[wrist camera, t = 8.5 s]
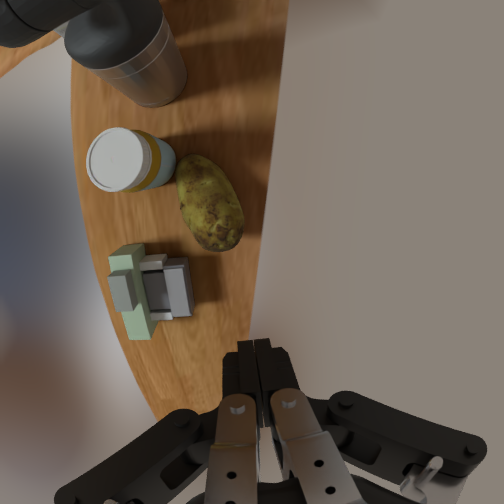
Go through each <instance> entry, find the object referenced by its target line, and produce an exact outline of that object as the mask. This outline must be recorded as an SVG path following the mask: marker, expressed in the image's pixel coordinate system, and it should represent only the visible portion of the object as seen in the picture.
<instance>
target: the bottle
mask: <svg viewBox="0 0 504 504" xmlns="http://www.w3.org/2000/svg"><path fill="white" fill-rule="evenodd" d="M86 166H87V172H88V175H89V177H90V179H91V180H92V182H93V183H94V184H95V185H96V186H97V187H99V188H100V189H102V190H105V191H109V192H110V191H111V192H117V191H121V192H129V193H130V192H137V191H142V190H146V189H151V188H155V187H159V186H162V185H163V184H165V183H166V182H168V181H169V179H170V178H171V177H172V176H173V174H174V171H175V169H176V156H175V153H174V151H173V149H172V147H171V146H170V145H168V144H167V143H166V142H164V141H162V140H160V139H158V138H156V137H154V136H152V135H150V134H148V133H146V132H143V131H140V130H129V129H126V128H121V127H120V128H118V127H117V128H111V129H108V130H106V131H104V132H102V133H101V134H100V135H98V136H97V137H96V138H95V140H94V141H93V142H92V144H91V146H90V148H89V150H88V154H87V159H86Z"/></svg>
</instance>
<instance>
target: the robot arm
mask: <svg viewBox="0 0 504 504" xmlns="http://www.w3.org/2000/svg"><path fill="white" fill-rule="evenodd" d="M69 20H70V21H69ZM67 21H69V23H68V25H67V28H66V31H65V37H64V42H65V48H66V50H67V52H68V54H69V55H70V56H71V57H72V58H73V59H74V60H75V61H77V62H78V63H80V64H81V65H83V66H84V67H86V68H87V69H89V70H90V71H91V72H93V73H94V74H96V75H97V76H99V77H100V78H102V79H103V80H105V81H106V82H108V83H109V84H110V85H112V86H113V87H115V88H116V89H117V90H119V91H120V92H122V93H123V94H124V95H126V96H127V97H129V98H130V99H131V100H133V101H134V102H136V103H137V104H139V105H141V106H143V107H149V108H153V107H159V106H163V105H165V104H167V103H170V102H171V101H172V100H174V99H175V98H176V97H177V96H178V95H179V94H180V93H181V92H182V90H183V89H184V86H185V84H186V81H187V70H186V66H185V64H184V61H183V59H182V56H181V54H180V51H179V49H178V46H177V44H176V41H175V39H174V37H173V34H172V32H171V29H170V27H169V24H168V22H167V20H166V17H165V15H164V13H163V10H162V7H161V5H160V3H159V0H0V46H4V47H8V48H16V47H22V46H25V45H27V44H30V43H32V42H33V41H35V40H37V39H39V38H41V37H42V36H44V35H45V34H47V33H49V32H50V31H52V30H54V29H55V28H57V27H59V26H60V25H62V24H64V23H65V22H67ZM237 345H238V352H228V353H227V354H226V355H225V357H224V358H223V372H222V374H223V375H222V392H223V397H222V401H221V402H220V404H219V406H218V407H217V408H215V409H214V410H212V411H210V412H207V413H203V414H200V415H198V414H197V413H196V412H195V411H193V410H190V409H178V410H175V411H172V412H171V413H169V414H168V415H167V416H165V417H164V418H163V419H161V420H160V421H159V422H158V423H156V424H155V425H154V426H152V427H151V428H150V429H148V430H147V431H146V432H144V433H143V434H141V435H140V436H139V437H137V438H136V439H135V440H133V441H132V442H130V443H129V444H128V445H126V446H125V447H123V448H122V449H121V450H119V451H118V452H116V453H115V454H113V455H112V456H110V457H109V458H107V459H106V460H104V461H103V462H102V463H100V464H98V465H97V466H95V467H94V468H92V469H91V470H89V471H87V472H86V473H84V474H83V475H81V476H80V477H78V478H77V479H75V480H73V481H71V482H70V483H68V484H67V485H65V486H63V487H61V488H60V489H59V490H58V491H57V492H56V494H55V497H54V503H55V504H167V503H168V502H170V501H171V500H172V499H173V498H174V497H176V496H177V495H178V494H179V493H180V492H181V491H182V490H183V489H185V488H186V487H187V486H188V485H189V484H190V483H191V482H193V481H194V480H195V479H196V478H197V477H198V476H199V475H200V474H201V473H202V472H203V471H204V470H205V469H206V468H207V467H208V471H207V480H206V489H205V492H203V493H201V494H199V495H197V496H196V497H194V498H192V499H191V500H190V501H189V502H187V503H186V504H456V502H457V500H458V498H459V496H460V493H461V491H462V489H463V487H464V484H465V482H466V479H467V477H468V475H469V474H470V473H471V472H472V471H473V470H474V469H475V468H476V467H477V466H478V465H479V464H480V463H481V461H482V460H483V459H484V457H485V456H486V453H487V445H486V443H485V441H484V440H483V439H482V438H480V437H478V436H476V435H472V434H468V433H465V432H462V431H458V430H454V429H452V428H449V427H445V426H442V425H439V424H436V423H433V422H430V421H427V420H424V419H421V418H419V417H416V416H413V415H410V414H408V413H405V412H402V411H399V410H397V409H394V408H391V407H389V406H387V405H384V404H382V403H379V402H377V401H374V400H372V399H369V398H367V397H365V396H362V395H360V394H358V393H355V392H352V391H340V392H337V393H335V394H333V395H332V396H331V397H330V399H329V400H320V399H313V398H310V397H307V396H306V395H305V394H304V393H303V392H302V391H301V390H300V388H299V385H298V382H297V379H296V376H295V373H294V370H293V367H292V364H291V362H290V358H289V355H288V352H286V351H285V350H284V349H283V348H282V347H278V348H272V347H271V344H270V339H269V338H266V339H256V340H254V346H253V340H246V341H237ZM254 351H255V352H254ZM262 411H263V414H262ZM263 418H264V423H265V427H271V433H272V443H273V446H274V450H275V453H276V457H277V460H278V463H279V467H280V470H281V473H282V478H283V481H282V482H279V483H264V482H261V476H260V475H261V474H260V447H259V440H260V428H263ZM343 460H344V461H346V462H348V463H350V464H352V465H354V466H356V467H358V468H360V469H362V470H365V471H367V472H369V473H371V474H373V475H376V476H378V477H380V478H382V479H385V480H388V481H390V482H392V483H394V484H397V485H400V491H401V494H402V495H403V496H401V495H399V494H397V493H394V492H392V491H390V490H388V489H385V488H383V487H381V486H379V485H377V484H375V483H373V482H371V481H369V480H367V479H365V478H363V477H360V476H357V475H353V474H350V473H349V471H348V469H347V467H346V465H345V463H344V461H343Z"/></svg>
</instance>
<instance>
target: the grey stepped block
mask: <svg viewBox="0 0 504 504" xmlns="http://www.w3.org/2000/svg"><path fill="white" fill-rule="evenodd" d="M143 279H144V284H145V289H146V294H147V298H148V303H149V307H150V310H154V309H171V313H172V317H182V316H192V315H193V311H194V306H195V302H194V296H193V289H192V283H191V276H190V269H189V262H188V257H179V258H168V260H167V261H166V262H165V264H164V265H163V269H157V270H146V271H145V272H144V273H143Z"/></svg>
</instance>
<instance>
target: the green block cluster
mask: <svg viewBox="0 0 504 504" xmlns="http://www.w3.org/2000/svg"><path fill="white" fill-rule="evenodd" d="M108 259H109V263H110V268H111V274H110V275H109V276H108V277H107V278H108V282H109V286H110V290H111V294H112V298H113V302H114V306H115V309H116V312H121V313H122V317H123V320H124V323H125V327H126V330H127V333H128V337H129V340H151V338H152V335H153V333H154V330H155V328H156V326H157V323H158V321H159V320H173V317H172V313H171V309H154V310H150V307H149V303H148V298H147V294H146V289H145V284H144V279H143V273H144V272H145V271H146V270H157V269H163V265H164V264H165V262H166V261H167V260H168V258H167V253H166V254H156V255H146V254H145V248H144V243H142V244H132V245H123V246H122V247H120V248H119V249H118V250H116V251H115V252H114V253H112V254H111V255H110V256H109V257H108Z"/></svg>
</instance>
